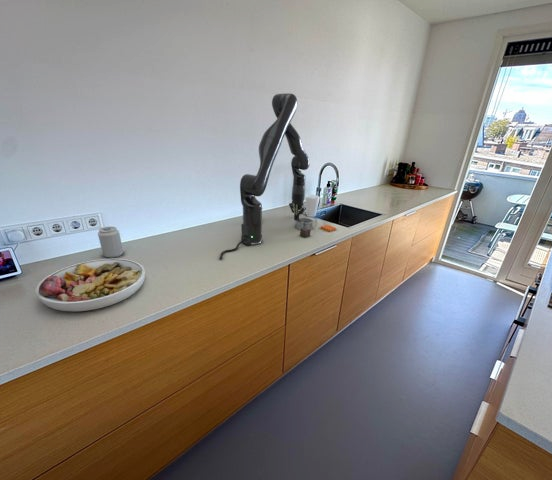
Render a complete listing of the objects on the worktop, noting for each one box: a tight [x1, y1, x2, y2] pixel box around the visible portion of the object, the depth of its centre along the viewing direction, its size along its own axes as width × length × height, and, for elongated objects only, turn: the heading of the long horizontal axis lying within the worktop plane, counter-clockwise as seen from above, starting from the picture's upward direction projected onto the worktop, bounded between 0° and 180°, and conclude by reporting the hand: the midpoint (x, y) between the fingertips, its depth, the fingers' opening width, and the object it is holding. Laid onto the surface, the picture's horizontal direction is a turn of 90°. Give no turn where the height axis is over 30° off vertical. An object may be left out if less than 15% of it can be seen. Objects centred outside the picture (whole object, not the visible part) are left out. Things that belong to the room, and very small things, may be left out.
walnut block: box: [299, 228, 312, 239], centre depth 159 cm, size 4×4×4 cm
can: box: [97, 226, 124, 259], centre depth 121 cm, size 8×8×12 cm
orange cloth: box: [320, 224, 337, 233], centre depth 172 cm, size 6×7×1 cm
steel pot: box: [295, 217, 314, 231], centre depth 171 cm, size 10×10×5 cm
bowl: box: [35, 258, 146, 312], centre depth 97 cm, size 30×30×8 cm
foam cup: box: [304, 194, 321, 218], centre depth 193 cm, size 10×9×13 cm
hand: (296, 220), depth 175 cm, fingers closed
